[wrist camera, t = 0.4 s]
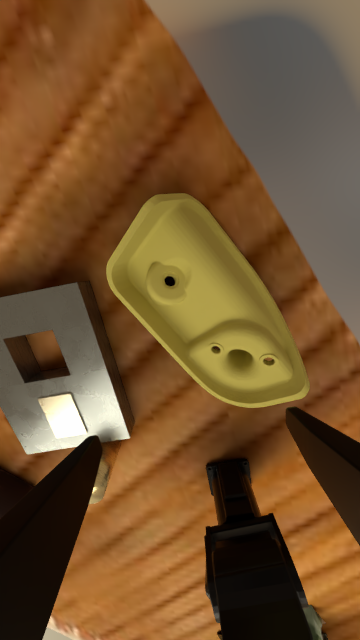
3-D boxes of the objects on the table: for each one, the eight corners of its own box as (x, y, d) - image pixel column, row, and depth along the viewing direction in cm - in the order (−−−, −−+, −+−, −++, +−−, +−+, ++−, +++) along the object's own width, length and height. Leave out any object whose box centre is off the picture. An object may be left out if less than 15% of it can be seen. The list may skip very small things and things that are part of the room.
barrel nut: (123, 451, 26) (108, 501, 21) (98, 455, 27) (76, 506, 21) (116, 430, 25) (98, 477, 20) (89, 434, 26) (63, 482, 20)
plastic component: (98, 276, 17) (159, 178, 11) (140, 261, 24) (194, 192, 18) (226, 414, 20) (329, 393, 14) (234, 368, 26) (308, 340, 20)
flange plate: (134, 422, 25) (129, 439, 22) (41, 437, 26) (25, 455, 23) (89, 281, 20) (76, 282, 17) (-27, 304, 20) (-58, 308, 18)
